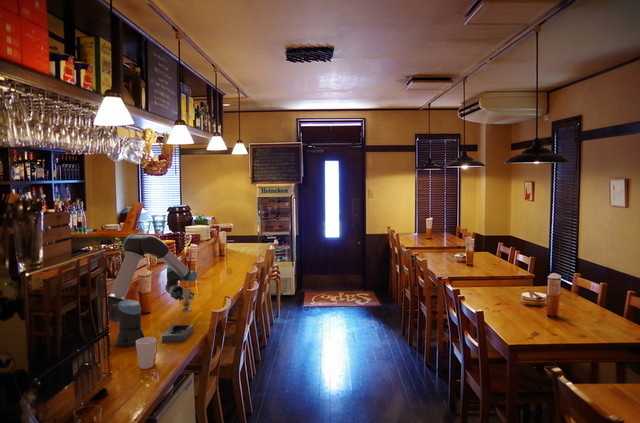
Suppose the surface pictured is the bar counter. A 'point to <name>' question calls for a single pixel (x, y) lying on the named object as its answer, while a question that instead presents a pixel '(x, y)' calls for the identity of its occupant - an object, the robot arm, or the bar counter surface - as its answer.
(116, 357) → the bar counter surface
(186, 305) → the brass post
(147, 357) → the foam cup
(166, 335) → the keyhole plate
